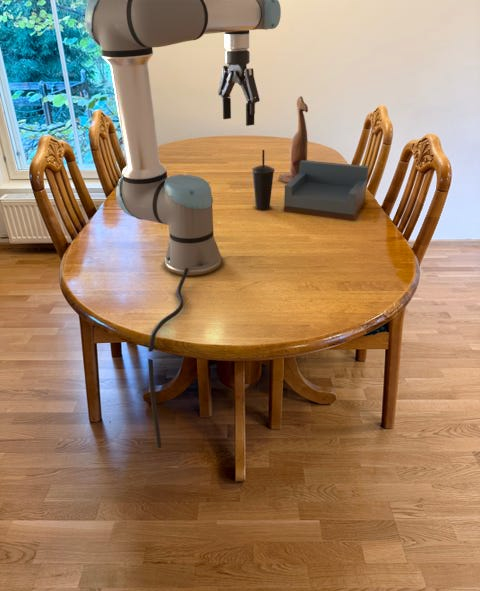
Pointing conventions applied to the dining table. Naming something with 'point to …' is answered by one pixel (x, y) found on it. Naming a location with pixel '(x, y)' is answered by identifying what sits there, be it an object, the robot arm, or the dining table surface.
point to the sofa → (327, 190)
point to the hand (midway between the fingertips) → (238, 122)
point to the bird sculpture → (297, 144)
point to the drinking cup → (262, 184)
